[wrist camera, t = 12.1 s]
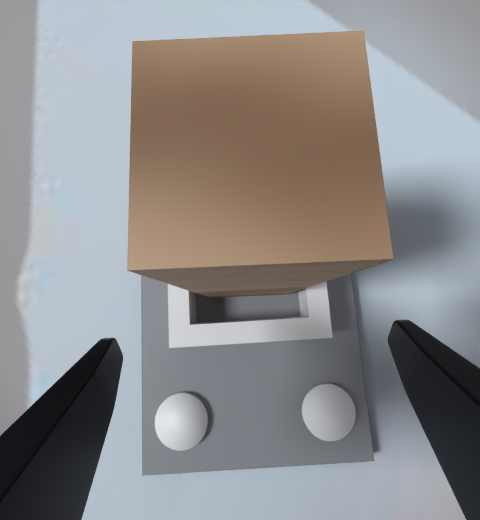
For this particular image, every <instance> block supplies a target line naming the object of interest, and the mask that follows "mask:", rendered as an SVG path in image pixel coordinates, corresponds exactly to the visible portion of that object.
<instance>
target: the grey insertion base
mask: <svg viewBox="0 0 480 520" xmlns="http://www.w3.org/2000/svg"><path fill="white" fill-rule="evenodd" d="M141 308H142V475H157V474H173V473H189V472H205V471H221V470H237V469H254V468H270V467H286V466H302V465H318V464H334V463H350V462H366V461H374V455H373V447H372V439H371V431H370V423H369V415H368V407H367V399H366V391H365V383H364V375H363V367H362V359H361V351H360V343H359V336H358V328H357V320H356V312H355V304H354V296H353V288H352V280H351V273H350V274H347V275H344V276H341V277H338V278H335V279H332V280H329V281H326V282H323V283H320V284H317V285H314V286H311V287H308V288H305V289H302V290H299V291H296V292H293V293H290V294H287V295H267V296H244V297H220V298H209V297H206V296H203V295H200V294H197V293H194V292H191V291H188V290H185V289H182V288H179V287H176V286H173V285H170V284H167V283H164V282H161V281H158V280H155V279H152V278H149V277H146V276H143V275H141Z"/></svg>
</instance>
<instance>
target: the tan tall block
mask: <svg viewBox="0 0 480 520" xmlns="http://www.w3.org/2000/svg"><path fill="white" fill-rule="evenodd" d="M392 259H394V258H393V251H392V243H391V236H390V228H389V220H388V213H387V205H386V197H385V190H384V182H383V175H382V167H381V159H380V152H379V144H378V136H377V129H376V121H375V113H374V106H373V98H372V91H371V83H370V75H369V68H368V60H367V52H366V45H365V37H364V31H348V32H326V33H305V34H283V35H261V36H240V37H218V38H196V39H175V40H153V41H133V43H132V88H131V133H130V177H129V222H128V267H127V270H128V271H131V272H134V273H137V274H140V275H143V276H146V277H149V278H152V279H155V280H158V281H161V282H164V283H167V284H170V285H173V286H176V287H179V288H182V289H185V290H188V291H191V292H194V293H197V294H200V295H203V296H206V297H209V298H220V297H244V296H267V295H287V294H290V293H293V292H296V291H299V290H302V289H305V288H308V287H311V286H314V285H317V284H320V283H323V282H326V281H329V280H332V279H335V278H338V277H341V276H344V275H347V274H350V273H353V272H356V271H359V270H362V269H365V268H368V267H371V266H374V265H377V264H380V263H383V262H386V261H389V260H392Z"/></svg>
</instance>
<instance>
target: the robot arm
mask: <svg viewBox="0 0 480 520" xmlns="http://www.w3.org/2000/svg"><path fill="white" fill-rule="evenodd" d="M388 344H389V347H390V350H391V352H392V355H393V358H394V361H395V364H396V367H397V369H398V372H399V375H400V378H401V381H402V384H403V386H404V389H405V391H406V393H407V396H408V398H409V400H410V402H411V404H412V406H413V408H414V410H415V413H416V415H417V417H418V419H419V421H420V423H421V425H422V427H423V429H424V431H425V434H426V436H427V438H428V440H429V442H430V444H431V446H432V448H433V450H434V453H435V455H436V457H437V459H438V461H439V463H440V465H441V467H442V469H443V472H444V474H445V476H446V478H447V480H448V482H449V484H450V486H451V488H452V490H453V493H454V495H455V497H456V499H457V501H458V503H459V505H460V507H461V509H462V512H463V514H464V516H465V518H466V520H480V368H478V367H477V366H475V365H474V364H472V363H471V362H469V361H468V360H467V359H465V358H464V357H462V356H461V355H459V354H458V353H456V352H455V351H453V350H452V349H451V348H449V347H448V346H446V345H445V344H443V343H442V342H440V341H439V340H437V339H436V338H435V337H433V336H432V335H430V334H429V333H427V332H426V331H424V330H423V329H421V328H420V327H418V326H417V325H416V324H414V323H413V322H411V321H409V320H396V321H394V322H393V325H392V328H391V330H390V333H389V336H388ZM122 362H123V354H122V352H121V349H120V347H119V345H118V343H117V340H116V339H115V338H103V339H101V340H99V341H98V342H97V343H96V344H95V345H94V346H93V347H92V348H91V349H90V350H89V351H88V352H87V353H86V354H85V355H84V356H83V357H82V358H81V359H80V360H79V361H78V362H76V363H75V364H74V365H73V366H72V367H71V368H70V369H69V370H68V371H67V372H66V373H65V374H64V375H63V376H62V377H61V378H60V379H59V380H58V381H57V382H56V383H55V384H54V385H53V386H52V387H51V388H49V389H48V390H47V391H46V392H45V393H44V394H43V395H42V396H41V397H40V398H39V399H38V400H37V401H36V402H35V403H34V404H33V405H32V406H31V407H30V408H29V409H28V410H27V411H26V412H25V413H24V414H23V415H22V416H20V417H19V419H17V420H16V421H15V422H14V423H13V424H12V425H11V426H10V427H9V428H8V429H7V430H6V431H5V432H4V433H3V434H2V435H1V436H0V520H81V519H82V516H83V512H84V509H85V505H86V502H87V499H88V495H89V492H90V488H91V485H92V482H93V478H94V475H95V471H96V468H97V465H98V461H99V458H100V454H101V451H102V448H103V444H104V441H105V437H106V434H107V431H108V427H109V424H110V420H111V417H112V413H113V410H114V406H115V401H116V395H117V390H118V384H119V379H120V373H121V368H122Z"/></svg>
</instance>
